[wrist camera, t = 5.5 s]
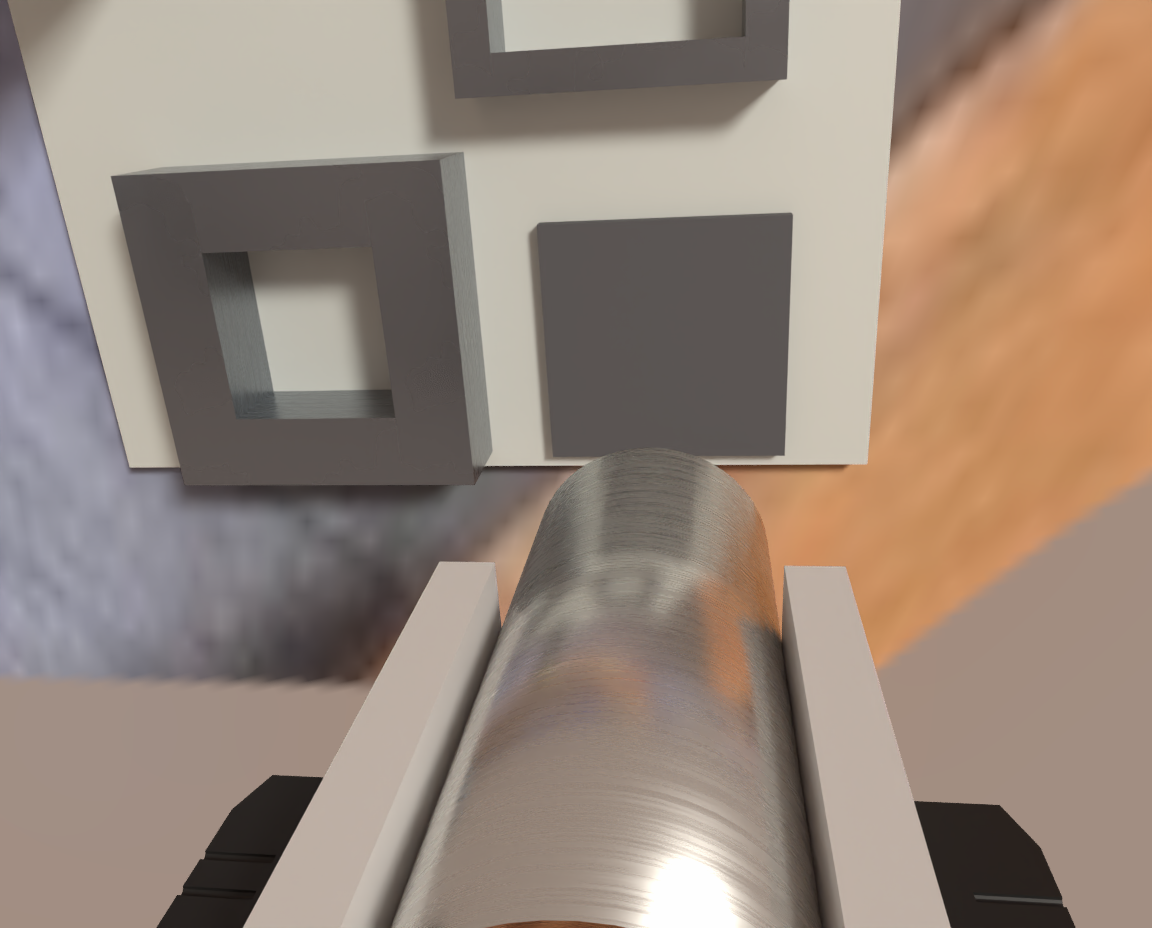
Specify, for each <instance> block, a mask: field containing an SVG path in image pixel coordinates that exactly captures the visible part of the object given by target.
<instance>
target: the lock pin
mask: <svg viewBox="0 0 1152 928" xmlns="http://www.w3.org/2000/svg"><path fill="white" fill-rule="evenodd" d="M391 928H822V922H821V915H820V908H819V901H818V894H817V887H816V880H815V873H814V866H813V859H812V852H811V845H810V838H809V831H808V824H807V817H806V810H805V803H804V796H803V789H802V782H801V775H800V768H799V761H798V754H797V747H796V740H795V733H794V726H793V719H792V712H791V705H790V698H789V691H788V684H787V677H786V670H785V663H784V656H783V649H782V640H781V633H780V626H779V619H778V612H777V605H776V598H775V591H774V584H773V577H772V570H771V563H770V556H769V549H768V542H767V537H766V532H765V528H764V525H763V522H762V519H761V516H760V514H759V512H758V510H757V508H756V507H755V505H754V503H753V501H752V500H751V498H750V497H749V496H748V494H747V493H746V492H745V490H744V489H743V488H742V487H741V486H740V485H739V484H738V483H737V482H736V481H735V480H734V479H733V478H732V477H730V476H729V475H728V474H727V473H725V472H724V471H723V470H721V469H720V468H718V467H717V466H715V465H713V464H712V463H710V462H708V461H706V460H704V459H701V458H699V457H697V456H695V455H691V454H688V453H685V452H682V451H677V450H672V449H666V448H653V447H645V448H632V449H627V450H621V451H617V452H614V453H611V454H608V455H605V456H602V457H600V458H598V459H596V460H594V461H591V462H589V463H588V464H586V465H585V466H583V467H582V468H580V469H579V470H577V471H576V472H575V473H574V474H573V475H571V476H570V477H569V478H568V479H567V480H566V481H565V482H564V483H563V484H562V485H561V487H560V488H559V489H558V490H557V491H556V493H555V494H554V496H553V498H552V499H551V501H550V502H549V504H548V507H547V509H546V511H545V513H544V516H543V518H542V521H541V524H540V526H539V529H538V532H537V534H536V537H535V540H534V543H533V545H532V548H531V551H530V553H529V556H528V559H527V561H526V564H525V567H524V569H523V572H522V575H521V578H520V580H519V583H518V586H517V588H516V591H515V594H514V596H513V599H512V602H511V605H510V607H509V610H508V613H507V615H506V618H505V621H504V623H503V626H502V629H501V631H500V634H499V637H498V640H497V642H496V645H495V648H494V650H493V653H492V656H491V658H490V661H489V664H488V666H487V669H486V672H485V675H484V677H483V680H482V683H481V685H480V688H479V691H478V693H477V696H476V699H475V702H474V704H473V707H472V710H471V712H470V715H469V718H468V720H467V723H466V726H465V728H464V731H463V734H462V737H461V739H460V742H459V745H458V747H457V750H456V753H455V755H454V758H453V761H452V763H451V766H450V769H449V772H448V774H447V777H446V780H445V782H444V785H443V788H442V790H441V793H440V796H439V799H438V801H437V804H436V807H435V809H434V812H433V815H432V817H431V820H430V823H429V825H428V828H427V831H426V834H425V836H424V839H423V842H422V844H421V847H420V850H419V852H418V855H417V858H416V860H415V863H414V866H413V869H412V871H411V874H410V877H409V879H408V882H407V885H406V887H405V890H404V893H403V896H402V898H401V901H400V904H399V906H398V909H397V912H396V914H395V917H394V920H393V922H392V925H391Z"/></svg>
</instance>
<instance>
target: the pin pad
mask: <svg viewBox="0 0 1152 928" xmlns="http://www.w3.org/2000/svg"><path fill="white" fill-rule="evenodd" d="M792 231H793V214H792V213H791V212H790V213H765V214H740V215H715V216H690V217H665V218H639V219H614V220H589V221H564V222H539V223H538V224H537V237H538V251H539V265H540V279H541V294H542V308H543V322H544V337H545V351H546V365H547V379H548V394H549V408H550V422H551V436H552V451H553V457H602V456H605V455H608V454H611V453H614V452H617V451H621V450H627V449H632V448H645V447H653V448H666V449H672V450H677V451H682V452H685V453H688V454H691V455H695V456H785V434H786V405H787V376H788V347H789V318H790V289H791V260H792Z"/></svg>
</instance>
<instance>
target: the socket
mask: <svg viewBox="0 0 1152 928" xmlns="http://www.w3.org/2000/svg"><path fill="white" fill-rule="evenodd" d="M445 1H446V11H447V21H448V31H449V42H450V52H451V62H452V72H453V82H454V92H455V99H460V98H477V97H494V96H512V95H529V94H546V93H563V92H580V91H597V90H614V89H631V88H649V87H666V86H683V85H700V84H717V83H734V82H751V81H768V80H786V79H787V67H788V34H789V1H790V0H742V37H729V38H713V39H698V40H682V41H667V42H651V43H636V44H621V45H605V46H590V47H574V48H559V49H543V50H528V51H513V52H505V39H504V26H503V13H502V1H501V0H445Z"/></svg>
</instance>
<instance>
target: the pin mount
mask: <svg viewBox="0 0 1152 928" xmlns="http://www.w3.org/2000/svg"><path fill="white" fill-rule="evenodd" d="M111 180H112V184H113V188H114V192H115V197H116V201H117V205H118V209H119V213H120V217H121V222H122V226H123V230H124V234H125V238H126V242H127V247H128V251H129V255H130V259H131V263H132V268H133V272H134V276H135V280H136V284H137V288H138V293H139V297H140V301H141V305H142V309H143V313H144V318H145V322H146V326H147V330H148V334H149V339H150V343H151V347H152V351H153V355H154V359H155V364H156V368H157V372H158V376H159V380H160V385H161V389H162V393H163V397H164V401H165V405H166V410H167V414H168V418H169V422H170V426H171V430H172V435H173V439H174V443H175V447H176V451H177V456H178V460H179V464H180V468H181V472H182V476H183V481H184V485H475V483H476V481H477V480H478V478H479V476H480V474H481V472H482V470H483V468H484V467H485V465H486V463H487V461H488V459H489V457H490V455H491V454H492V452H493V449H492V439H491V429H490V418H489V408H488V398H487V387H486V377H485V367H484V357H483V346H482V336H481V326H480V315H479V305H478V295H477V284H476V274H475V264H474V253H473V243H472V233H471V222H470V212H469V202H468V192H467V181H466V171H465V161H464V152H451V153H431V154H412V155H392V156H372V157H352V158H332V159H313V160H293V161H273V162H253V163H233V164H214V165H194V166H174V167H160V168H154V169H149V170H143V171H137V172H131V173H126V174H120V175H114V176H111ZM354 247H372V253H373V260H374V268H375V275H376V282H377V289H378V297H379V304H380V311H381V318H382V325H383V333H384V340H385V347H386V354H387V361H388V369H389V376H390V383H391V390H330V391H274V390H273V385H272V379H271V374H270V369H269V364H268V358H267V353H266V348H265V343H264V337H263V332H262V327H261V322H260V316H259V311H258V306H257V301H256V295H255V290H254V285H253V280H252V274H251V269H250V264H249V259H248V253H247V251H273V250H300V249H327V248H354Z"/></svg>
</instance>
